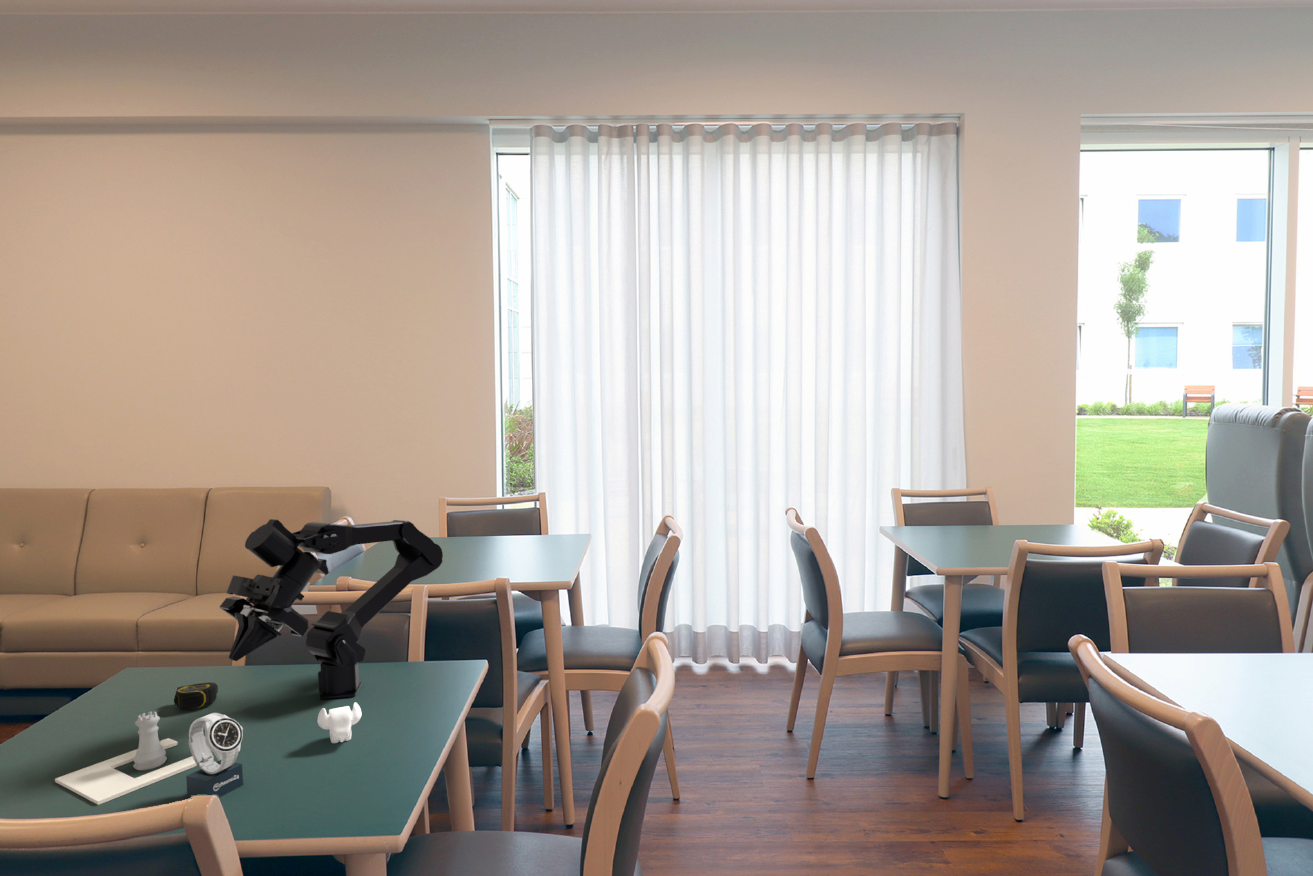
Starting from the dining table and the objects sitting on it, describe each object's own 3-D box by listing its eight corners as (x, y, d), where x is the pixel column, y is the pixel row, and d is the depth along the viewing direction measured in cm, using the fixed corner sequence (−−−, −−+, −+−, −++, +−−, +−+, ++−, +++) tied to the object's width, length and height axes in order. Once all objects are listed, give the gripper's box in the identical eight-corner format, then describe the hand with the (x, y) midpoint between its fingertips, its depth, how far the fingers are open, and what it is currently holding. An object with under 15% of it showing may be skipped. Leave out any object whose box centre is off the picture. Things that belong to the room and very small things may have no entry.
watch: (217, 805, 108) (212, 727, 108) (179, 795, 111) (174, 719, 111) (253, 787, 113) (248, 712, 113) (215, 777, 117) (211, 705, 116)
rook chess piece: (143, 759, 124) (140, 710, 123) (173, 757, 124) (170, 708, 124) (126, 772, 119) (123, 721, 119) (157, 770, 120) (154, 719, 119)
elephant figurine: (319, 754, 123) (317, 717, 123) (317, 735, 131) (316, 700, 130) (364, 745, 126) (363, 709, 126) (360, 727, 134) (359, 693, 133)
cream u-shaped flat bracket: (168, 741, 130) (168, 738, 130) (213, 759, 123) (213, 755, 123) (55, 782, 117) (54, 778, 117) (98, 805, 109) (98, 801, 109)
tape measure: (219, 697, 151) (218, 678, 150) (215, 709, 144) (213, 689, 144) (178, 703, 148) (176, 684, 148) (172, 716, 142) (170, 696, 141)
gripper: (227, 552, 141) (166, 628, 132) (288, 560, 131) (226, 643, 122) (271, 586, 148) (216, 660, 139) (332, 596, 138) (277, 677, 129)
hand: (232, 659), depth 132 cm, fingers closed
